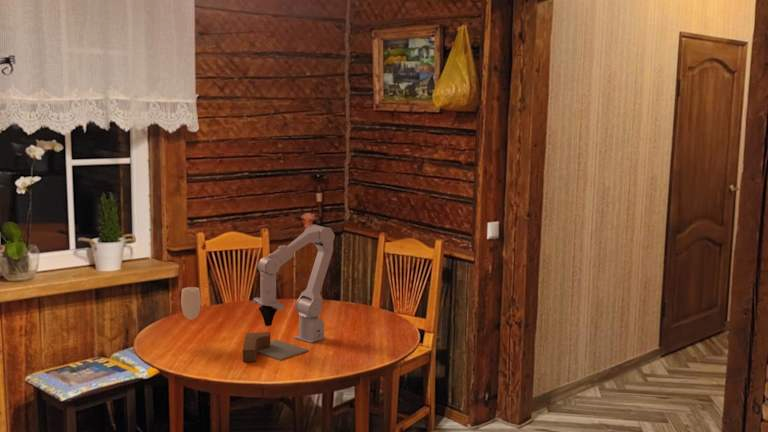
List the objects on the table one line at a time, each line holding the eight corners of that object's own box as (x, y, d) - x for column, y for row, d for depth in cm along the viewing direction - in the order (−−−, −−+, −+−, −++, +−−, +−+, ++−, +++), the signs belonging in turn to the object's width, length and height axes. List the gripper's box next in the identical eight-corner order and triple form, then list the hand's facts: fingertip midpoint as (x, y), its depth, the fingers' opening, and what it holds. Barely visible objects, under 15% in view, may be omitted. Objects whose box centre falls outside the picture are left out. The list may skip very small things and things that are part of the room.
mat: (308, 351, 281) (308, 349, 281) (280, 360, 270) (280, 359, 270) (276, 341, 291) (276, 339, 291) (248, 349, 281) (248, 348, 281)
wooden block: (270, 331, 285) (268, 348, 268) (270, 343, 286) (268, 361, 268) (245, 332, 284) (242, 350, 267) (246, 344, 285) (242, 362, 267)
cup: (205, 340, 290) (204, 287, 287) (195, 346, 283) (194, 292, 280) (188, 338, 292) (187, 286, 289) (178, 344, 285) (176, 290, 282)
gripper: (246, 288, 282) (247, 323, 284) (273, 295, 273) (273, 331, 275) (261, 284, 288) (261, 319, 290) (288, 291, 279) (287, 327, 281)
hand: (268, 325), depth 283 cm, fingers closed
